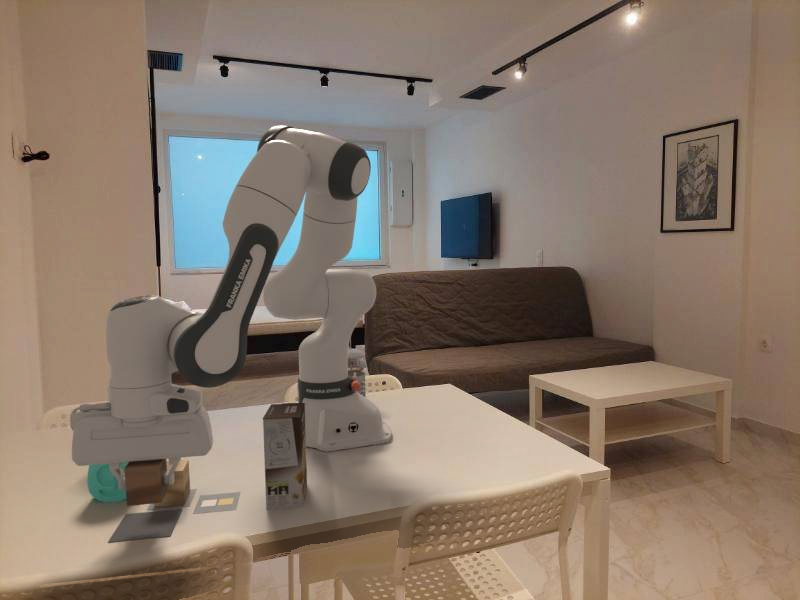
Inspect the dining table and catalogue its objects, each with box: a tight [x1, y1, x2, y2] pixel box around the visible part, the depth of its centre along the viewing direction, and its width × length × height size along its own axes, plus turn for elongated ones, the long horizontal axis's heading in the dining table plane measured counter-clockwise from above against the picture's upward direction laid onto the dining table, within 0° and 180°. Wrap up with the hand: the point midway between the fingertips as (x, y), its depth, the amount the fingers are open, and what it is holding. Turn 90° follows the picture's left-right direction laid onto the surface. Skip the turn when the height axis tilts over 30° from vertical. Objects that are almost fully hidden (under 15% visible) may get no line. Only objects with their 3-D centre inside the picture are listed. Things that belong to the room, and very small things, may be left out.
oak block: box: [154, 459, 191, 507], centre depth 99 cm, size 5×5×6 cm
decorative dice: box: [86, 462, 129, 503], centre depth 103 cm, size 8×8×8 cm
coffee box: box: [262, 402, 308, 510], centre depth 99 cm, size 9×6×16 cm
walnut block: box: [124, 459, 168, 507], centre depth 89 cm, size 5×5×6 cm
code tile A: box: [192, 491, 241, 515], centre depth 98 cm, size 7×7×1 cm
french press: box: [348, 336, 367, 398], centre depth 160 cm, size 10×12×25 cm
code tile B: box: [146, 488, 198, 511], centre depth 100 cm, size 7×7×1 cm
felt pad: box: [107, 508, 183, 544], centre depth 91 cm, size 9×9×1 cm
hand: (147, 485), depth 89 cm, fingers closed on walnut block, 5 cm apart
